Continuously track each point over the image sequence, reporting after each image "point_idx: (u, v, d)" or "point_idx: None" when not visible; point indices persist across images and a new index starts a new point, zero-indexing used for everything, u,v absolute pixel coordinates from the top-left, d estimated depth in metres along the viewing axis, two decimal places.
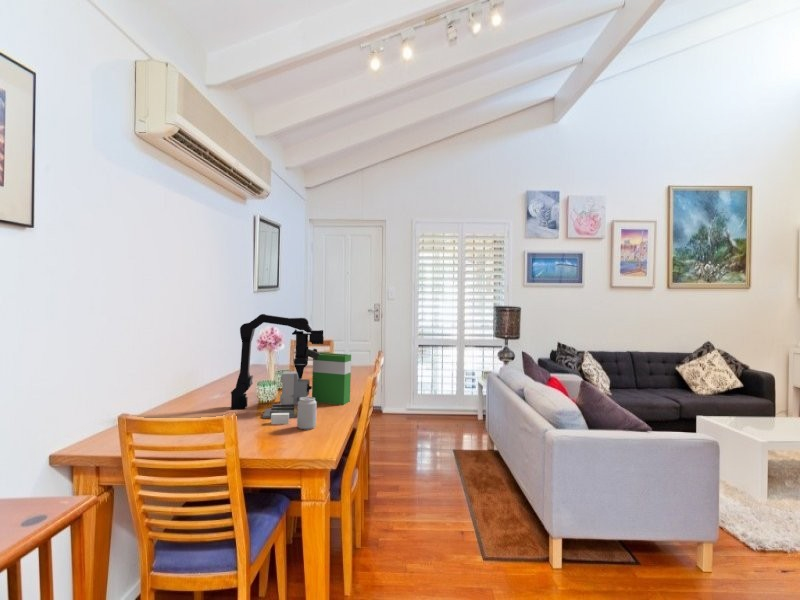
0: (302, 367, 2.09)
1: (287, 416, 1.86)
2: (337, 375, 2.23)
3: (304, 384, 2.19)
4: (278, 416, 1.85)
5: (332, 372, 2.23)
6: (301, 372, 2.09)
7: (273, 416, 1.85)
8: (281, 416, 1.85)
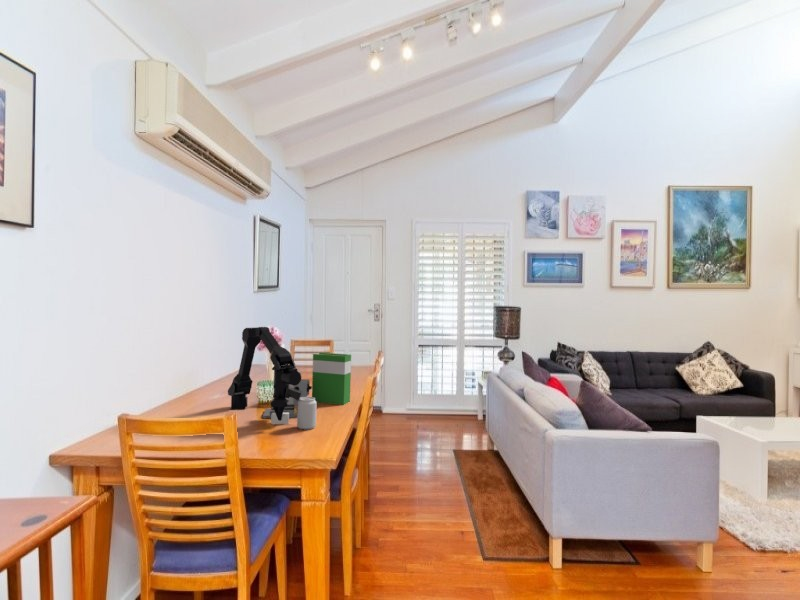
0: (281, 408, 1.84)
1: (287, 416, 1.86)
2: (337, 375, 2.23)
3: (304, 384, 2.19)
4: None
5: (332, 372, 2.23)
6: (280, 413, 1.84)
7: (273, 416, 1.85)
8: None
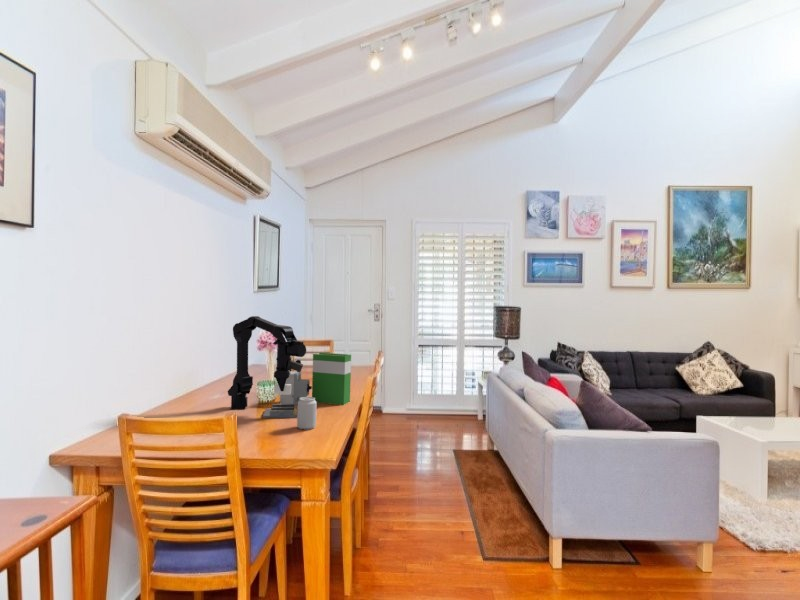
0: (284, 379, 1.95)
1: (289, 387, 1.97)
2: (337, 375, 2.23)
3: (304, 384, 2.19)
4: None
5: (332, 372, 2.23)
6: (283, 384, 1.95)
7: (276, 386, 1.96)
8: (284, 387, 1.97)
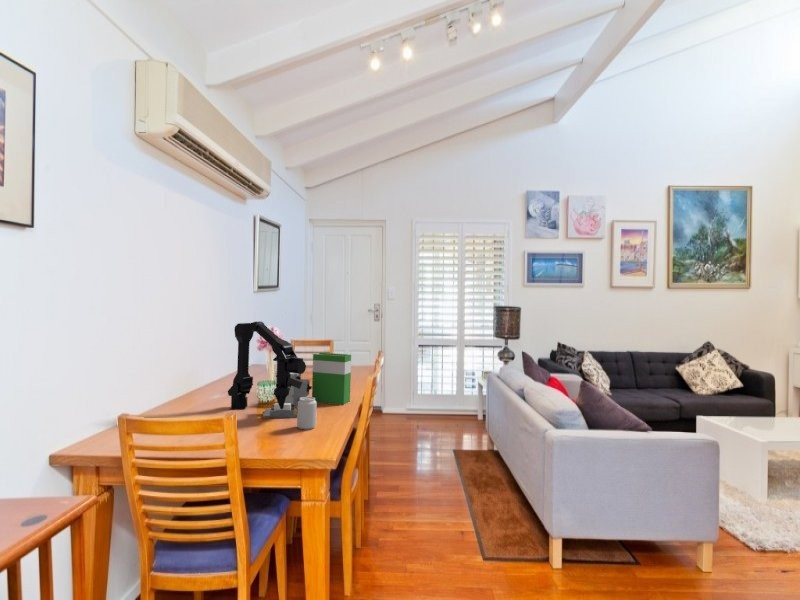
0: (283, 397, 1.94)
1: (289, 406, 1.97)
2: (337, 375, 2.23)
3: (304, 384, 2.19)
4: None
5: (332, 372, 2.23)
6: (282, 402, 1.94)
7: (276, 406, 1.96)
8: None
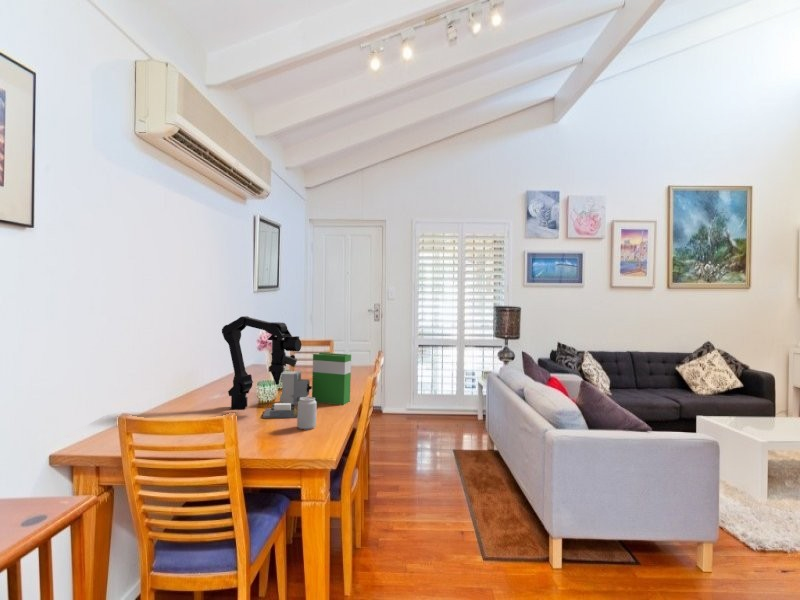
0: (279, 373, 2.03)
1: (289, 406, 1.97)
2: (337, 375, 2.23)
3: (304, 384, 2.19)
4: (280, 406, 1.97)
5: (332, 372, 2.23)
6: (278, 378, 2.03)
7: (276, 406, 1.96)
8: (283, 406, 1.97)
